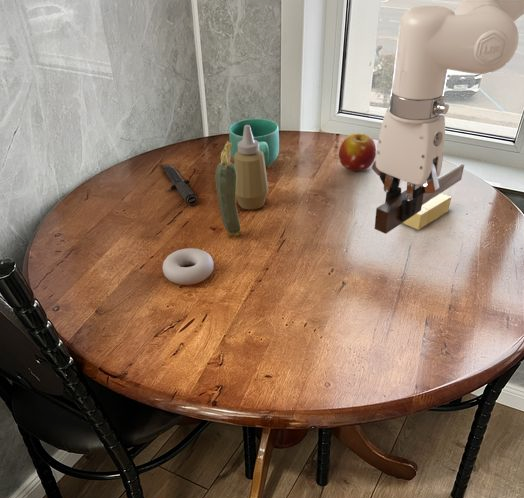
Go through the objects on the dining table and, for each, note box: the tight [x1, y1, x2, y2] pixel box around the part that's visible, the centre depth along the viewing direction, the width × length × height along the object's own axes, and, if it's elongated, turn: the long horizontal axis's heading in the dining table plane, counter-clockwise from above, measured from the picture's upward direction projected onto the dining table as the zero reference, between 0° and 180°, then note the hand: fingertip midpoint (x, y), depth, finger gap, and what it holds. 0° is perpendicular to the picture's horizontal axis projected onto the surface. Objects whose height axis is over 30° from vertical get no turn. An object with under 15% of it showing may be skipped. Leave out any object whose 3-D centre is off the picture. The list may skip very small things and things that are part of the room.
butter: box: [422, 192, 452, 225], centre depth 118 cm, size 4×8×4 cm, turn 132°
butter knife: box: [374, 163, 465, 235], centre depth 96 cm, size 2×24×4 cm, turn 133°
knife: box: [163, 165, 198, 206], centre depth 134 cm, size 24×5×3 cm, turn 17°
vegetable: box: [214, 140, 242, 237], centre depth 109 cm, size 4×4×20 cm
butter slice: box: [402, 207, 429, 231], centre depth 115 cm, size 4×3×4 cm, turn 42°
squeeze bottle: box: [233, 125, 269, 211], centre depth 119 cm, size 8×8×18 cm
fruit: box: [338, 132, 377, 172], centre depth 135 cm, size 10×9×8 cm
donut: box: [161, 247, 215, 286], centre depth 105 cm, size 10×4×10 cm
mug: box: [228, 118, 280, 167], centre depth 137 cm, size 17×13×10 cm
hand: (398, 214), depth 93 cm, fingers closed on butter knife, 2 cm apart
